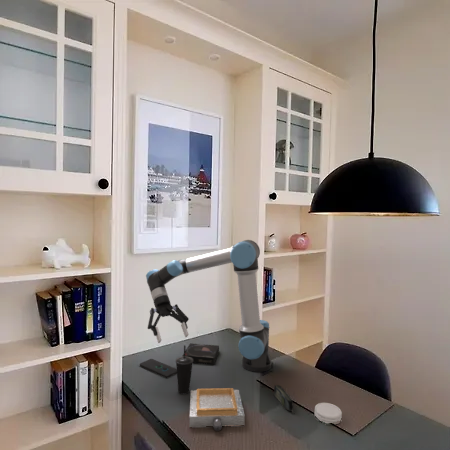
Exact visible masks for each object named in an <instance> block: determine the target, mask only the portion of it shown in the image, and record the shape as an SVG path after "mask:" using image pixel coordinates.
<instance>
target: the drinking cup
mask: <svg viewBox="0 0 450 450" xmlns="http://www.w3.org/2000/svg"><path fill="white" fill-rule="evenodd" d="M186 349H187V347H186V345H183V354H184V356H183V357H182V356H179V357H177V358H176V359H175V364H176V365H175V366H176V369H177V374H176V380H177V393H179V394H181V395H186V394H188V393H190V388H191V382H192V381H191V379H192V372H193V364H194V363H193V359H192V358H191V357H187V356H185V351H186Z"/></svg>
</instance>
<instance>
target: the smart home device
mask: <svg viewBox="0 0 450 450" xmlns="http://www.w3.org/2000/svg"><path fill="white" fill-rule="evenodd" d="M139 367H140V368H142V369H145V370H147V371H149V372H151V373H154V374H155V375H158V376H160V377H163V378H165V379H169V378H172V377H173V376H175V375H177V368H175V367H173V366H170V365H167V364H165V363H163V362H161V361H158V360H156V359H153V358H149V359H148V360H145V361H142V362H140V363H139Z"/></svg>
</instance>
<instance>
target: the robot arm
mask: <svg viewBox="0 0 450 450" xmlns="http://www.w3.org/2000/svg"><path fill="white" fill-rule="evenodd" d="M260 254H261V249H260V246H259V245H258V244H257V242H255V241H254V240H251V239H245V240H242V241H239V242H236V244H233V245H231V247H229V248H224V249H220V250H217V251H212V252H208V253H204V254H201V255H196V256H192V257H187V258H184V259H179V260H177V259H173V260H171V261H169V262H168V263H167V264H166V265H165V266H163V267H162V268H160V269H152V270H149V271H148V272H147V273H146V275H145V277H146V283H147V286H148V289H149V291H150V295H151V298H152V301H153V304H154V307H155V308H154V307H151V309H149V313H150V314H149V320H148V324H147V329H148V330H151V331H152V333H153V336H154V337H156V340H157V344H160V343H161V342H162V337H161V333H160V331H159V327H158V326H157V324H158V323H159V321H160V319H161V317H162V318H164V317H172V318H174V319H175V320H176V321H178V322H179V323H180V327H181V329H182V332H183V334H184V338H188V336H189V335H190V334H189V331H188V327H189V326H188V324H187V322H188V321H189V320H190V318H189V317H188V316H187V315H186V313H184V312H183V311H182V310H181V308H179V306H178V304H174V305H171V300H170V298H169V294H168V292H167V289H166V286H165V285H166V284H168V283H169V282H171V281H172V280H173V279H175V278H177V277H180V276H182V275H187V274H189V273H192V272H197V271H201V270H206V269H211V268H214V267H215V268H216V267H219V266H223V265H227V264H232V266H233V272H234V273H235V274H236V275H237V282H238V283H237V285H238V293H239V296H238V297H239V305H240V306H239V307H240V316H241V325H240V326H239V328H238V329H239V330H238V331H239V341H238V347H237V348H238V351H239V353H240V354H241V356H242V358H241V366H242V367H243V368H244V369H245V370H247V371H250V372H255V373H258V372H259V373H263V372H266V371H267V372H268V371H269V370H270V369H271V368H272V358H271V356H270V351H269V348H270V347H269V343H270V341H269V340H270V322H268V321H267V320H264V319H261V318H260V308H259V307H260V306H259V296H258V287H257V286H258V285H257V274H256V273H257V272H258V270H259V261H258V260H259V257H260ZM155 313H156V314H157V316H156V319H155V321H153V320H154V315H155ZM153 322H154V323H153Z"/></svg>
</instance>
